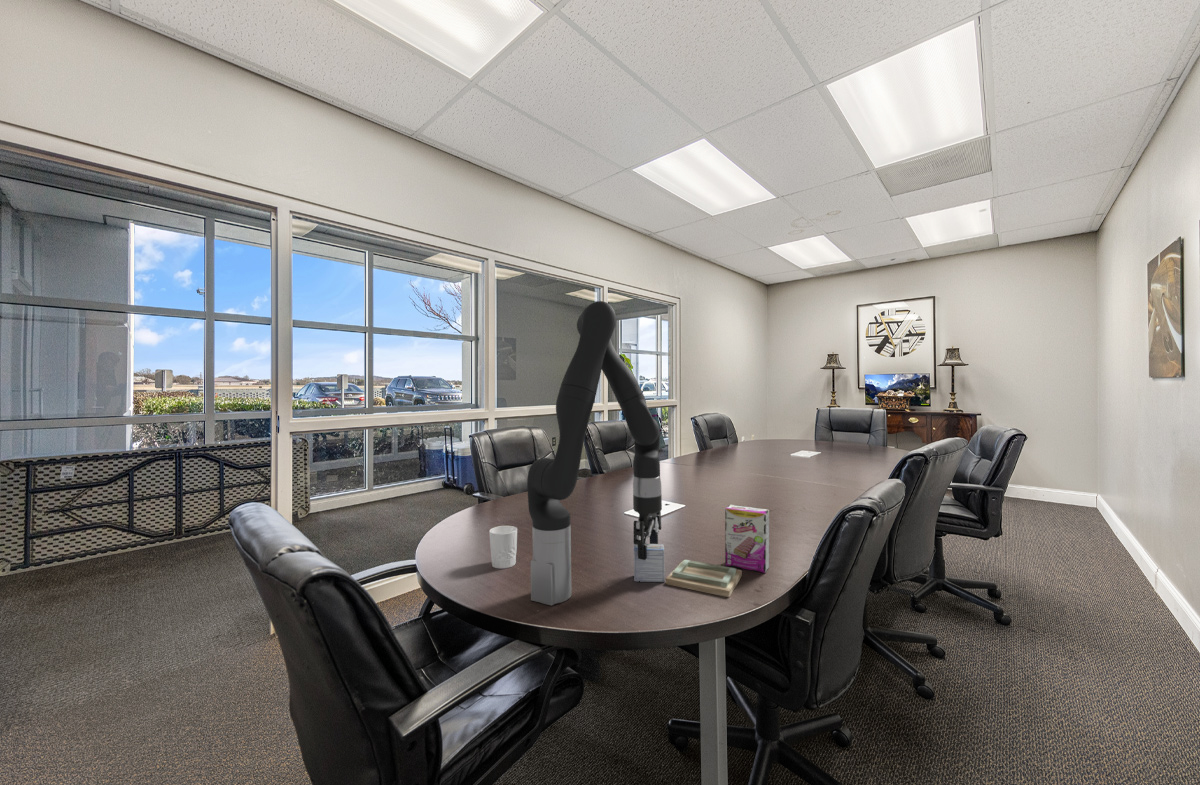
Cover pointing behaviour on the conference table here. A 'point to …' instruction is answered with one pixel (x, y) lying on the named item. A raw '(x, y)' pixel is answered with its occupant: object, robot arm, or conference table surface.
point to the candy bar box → (747, 538)
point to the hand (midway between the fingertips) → (648, 553)
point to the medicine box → (650, 564)
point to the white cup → (503, 546)
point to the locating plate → (705, 577)
